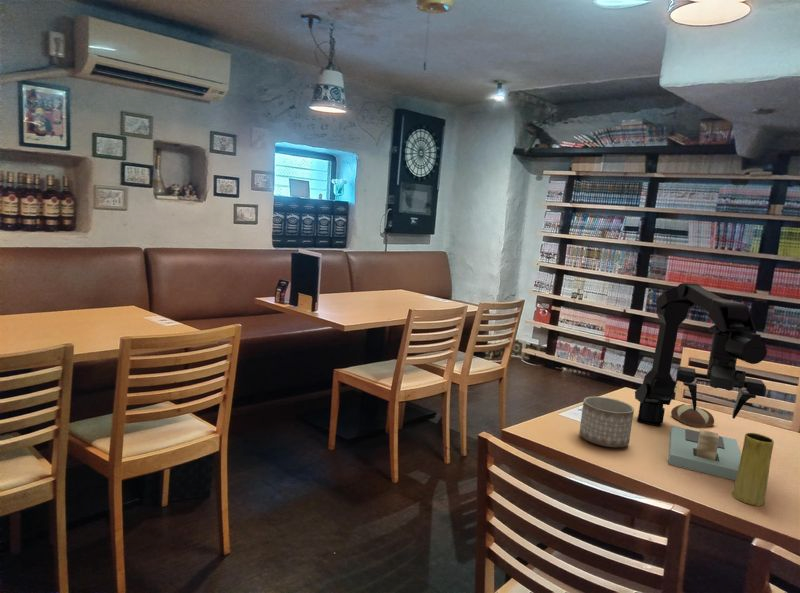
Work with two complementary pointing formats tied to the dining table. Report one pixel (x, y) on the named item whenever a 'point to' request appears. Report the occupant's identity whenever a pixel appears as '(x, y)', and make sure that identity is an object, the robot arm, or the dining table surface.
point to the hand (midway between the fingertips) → (713, 414)
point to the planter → (606, 421)
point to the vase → (753, 469)
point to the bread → (692, 416)
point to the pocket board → (685, 456)
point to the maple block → (707, 445)
